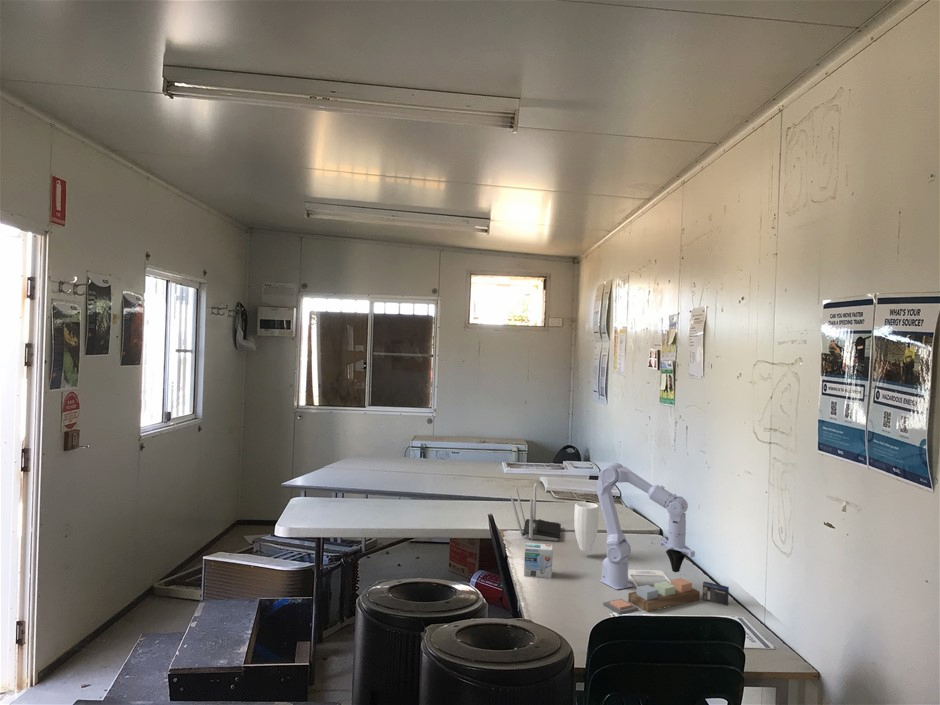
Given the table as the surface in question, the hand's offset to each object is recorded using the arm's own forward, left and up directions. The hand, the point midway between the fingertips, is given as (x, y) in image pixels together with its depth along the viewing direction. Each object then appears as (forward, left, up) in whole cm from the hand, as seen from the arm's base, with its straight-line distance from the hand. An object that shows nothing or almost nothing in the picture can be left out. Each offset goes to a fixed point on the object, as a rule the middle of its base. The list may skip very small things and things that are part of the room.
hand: (675, 571), depth 214 cm
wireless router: (-84, -2, -10) cm, 84 cm away
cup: (-48, -1, -10) cm, 49 cm away
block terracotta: (0, +3, -8) cm, 9 cm away
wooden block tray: (0, -5, -10) cm, 11 cm away
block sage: (0, -5, -8) cm, 9 cm away
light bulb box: (-39, -31, -10) cm, 51 cm away
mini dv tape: (+8, +11, -10) cm, 17 cm away
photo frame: (-17, +5, -10) cm, 20 cm away
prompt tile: (-2, -23, -10) cm, 25 cm away
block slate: (0, -13, -8) cm, 15 cm away
